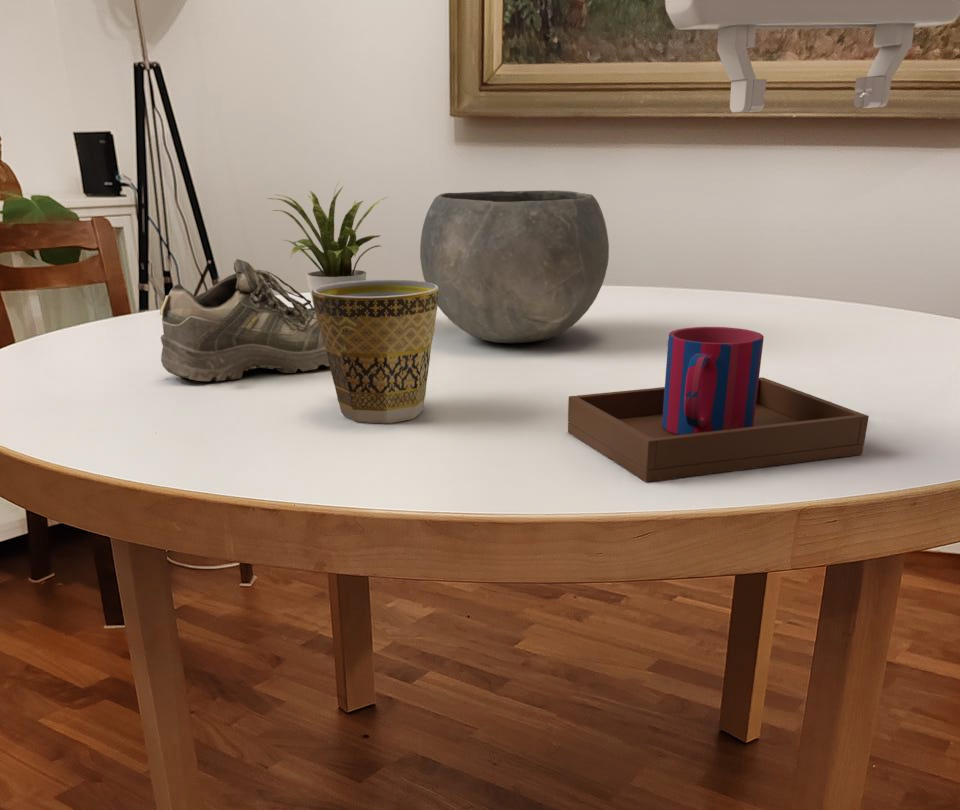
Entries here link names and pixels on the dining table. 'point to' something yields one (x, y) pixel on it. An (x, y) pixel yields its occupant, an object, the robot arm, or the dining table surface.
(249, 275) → the hiking shoe
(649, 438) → the tray
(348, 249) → the house plant
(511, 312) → the bowl
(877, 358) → the dining table surface
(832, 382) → the dining table surface
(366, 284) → the ceramic cup
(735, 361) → the cup
